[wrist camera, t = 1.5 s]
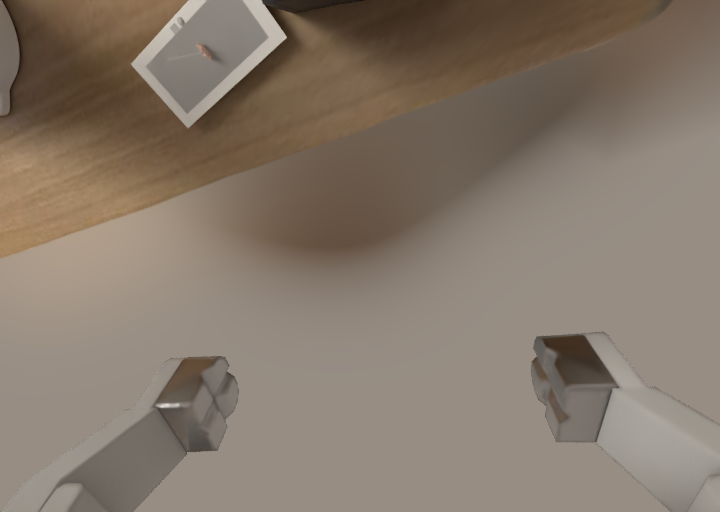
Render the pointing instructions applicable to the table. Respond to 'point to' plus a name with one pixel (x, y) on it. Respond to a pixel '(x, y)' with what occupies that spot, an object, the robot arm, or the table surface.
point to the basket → (303, 4)
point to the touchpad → (207, 53)
